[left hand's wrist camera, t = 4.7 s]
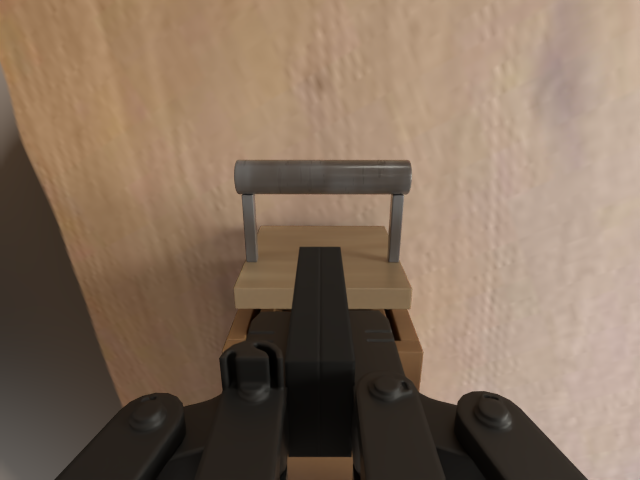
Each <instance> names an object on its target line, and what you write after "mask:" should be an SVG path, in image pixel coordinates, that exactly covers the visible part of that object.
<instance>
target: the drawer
mask: <svg viewBox="0 0 640 480" xmlns="http://www.w3.org/2000/svg"><path fill="white" fill-rule="evenodd" d="M234 181H235V188H236V191H237V193H238V194H242V206H243V220H244V234H245V247H246V261H245V263H244V265H243V268H242V270H241V272H240V275H239V277H238V279H237V281H236V284H235V286H234V288H233V291H234V302H235V309H261V311H260V312H291V309H292V301H293V293H294V285H295V278H296V270H297V262H298V255H299V247H341V255H342V262H343V270H344V278H345V285H346V293H347V301H348V309H349V310H379V311H380V312H381V313H382V314H383V315H384V316H385V317H386V315H385V311H384V309H410V308H411V297H412V287H411V285H410V283H409V281H408V278H407V276H406V274H405V272H404V269H403V267H402V265H401V263H400V260H399V254H400V241H401V228H402V215H403V202H404V195H403V194H408V193H409V191H410V188H411V181H412V169H411V163H410V161H409V160H237V161H236V163H235V169H234ZM255 194H391V205H390V220H389V236H388V233H387V231H386V229H385V227H384V226H261V227H260V229H259V232H258V234H257V226H256V209H255Z"/></svg>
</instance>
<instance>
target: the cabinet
mask: <svg viewBox="0 0 640 480" xmlns="http://www.w3.org/2000/svg"><path fill="white" fill-rule="evenodd" d="M260 311H261V309H238V311H237V313H236V316H235V319H234V321H233V324H232V327H231V329H230V332H229V334H228V337H227V340H226V342H225V345H224V347H223V350H222V354H223V352H224V351H225V350H226V349H228V348H229V347H231V346H232V345H234V344H237V343H240V342H242V341H246V338H247V334H248V331H249V328H250V324H251V321H252V320H253V319H254V318H255V317H256V316H257V315H258V314H259V313H260ZM384 311H385V315H386V318H387V319H388V320H389V323H390V326H391V329H392V333H393V336H394V340H395V343H396V346H397V350H398V353H399V356H400V360H401V363H402V367H403V370H404V373H405V376H406V377H407V378H408V379H410V380H411V381H412V382H413V383H414V385H415V387H416V388H417V390H418V392H419V388H420V379H421V370H422V361H423V350H422V347H421V345H420V342H419V339H418V336H417V334H416V331H415V329H414V326H413V323H412V321H411V318H410V315H409V313H408V310H407V309H384ZM287 472H288V480H352V472H353V456H352V457H288V458H287Z"/></svg>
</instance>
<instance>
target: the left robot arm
mask: <svg viewBox="0 0 640 480" xmlns="http://www.w3.org/2000/svg"><path fill="white" fill-rule="evenodd" d="M219 360H220V369H221V379H222V388H223V391H222V394H220V395H219V396H217V397H215V398H213V399H211V400H208V401H205V402H201V403H197V404H193V405H189V406H185V407H183V403H182V402H181V401H180V400H179V399H178V397H176V396H174V395H171V394H169V393H153V394H149V395H145V396H142V397H140V398H137V399H135V400H133V401H131V402H130V403H128V404H127V405H126V406H125V407H123V408H122V409H121V410H120V411H119V412H118V413H117V414H116V415H115V416H114V417H113V418H112V419H111V420H110V421H109V422H108V423H107V425H106V426H105V427H104V428H103V429H102V430H101V431H100V432H99V433H98V434H97V435H96V436H95V437H94V438H93V439H92V440H91V442H90V443H89V444H88V445H87V446H86V447H85V448H84V449H83V450H82V451H81V452H80V453H79V454H78V455H77V456H76V457H75V459H74V460H73V461H72V462H71V463H70V464H69V465H68V466H67V467H66V468H65V469H64V470H63V471H62V472H61V473H60V474H59V476H58V477H57V478H56V479H55V480H288V472H287V458H288V457H352V456H353V472H352V480H588V479H587V478H586V477H585V476H584V475H583V474H582V473H581V472H580V471H579V470H578V469H577V468H576V467H575V466H574V464H573V463H572V462H571V461H570V460H569V459H568V458H567V457H566V456H565V455H564V454H563V453H562V452H561V451H560V450H559V449H558V448H557V447H556V446H555V444H554V443H553V442H552V441H551V440H550V439H549V438H548V437H547V436H546V435H545V434H544V433H543V432H542V431H541V430H540V429H539V428H538V427H537V426H536V424H535V423H534V422H533V421H532V420H531V419H530V418H529V417H528V416H527V415H526V414H525V413H524V412H523V411H522V410H521V409H520V408H519V407H518V406H517V405H515V404H514V403H513V402H512V401H510V400H508V399H506V398H504V397H502V396H500V395H498V394H494V393H490V392H485V391H475V392H470V393H468V394H465V395H463V396H462V397H461V398H460V400H459V401H458V403H457V405H454V404H449V403H445V402H441V401H437V400H434V399H431V398H428V397H426V396H425V395H423V394H421V393H419V392H418V390H417V388H416V387H415V385H414V383H413V382H412V381H411V380H410V379H408V378H407V377H406V376H405V373H404V370H403V367H402V363H401V360H400V356H399V353H398V350H397V346H396V343H395V340H394V336H393V333H392V329H391V326H390V323H389V320H388V319H387V318H386V317H385V316H384V315H383V314H382V313H381V312H380V311H379V310H349V309H348V301H347V293H346V285H345V278H344V270H343V262H342V255H341V247H299V255H298V262H297V270H296V278H295V285H294V293H293V301H292V309H291V312H260V313H259V314H258V315H257V316H256V317H255V318H254V319H253V320H252V321H251V324H250V328H249V331H248V334H247V338H246V341H242V342H240V343H237V344H234V345H232V346H231V347H229V348H228V349H226V350H225V351H224V352H223V354H222V355H221V357H220V358H219Z"/></svg>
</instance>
